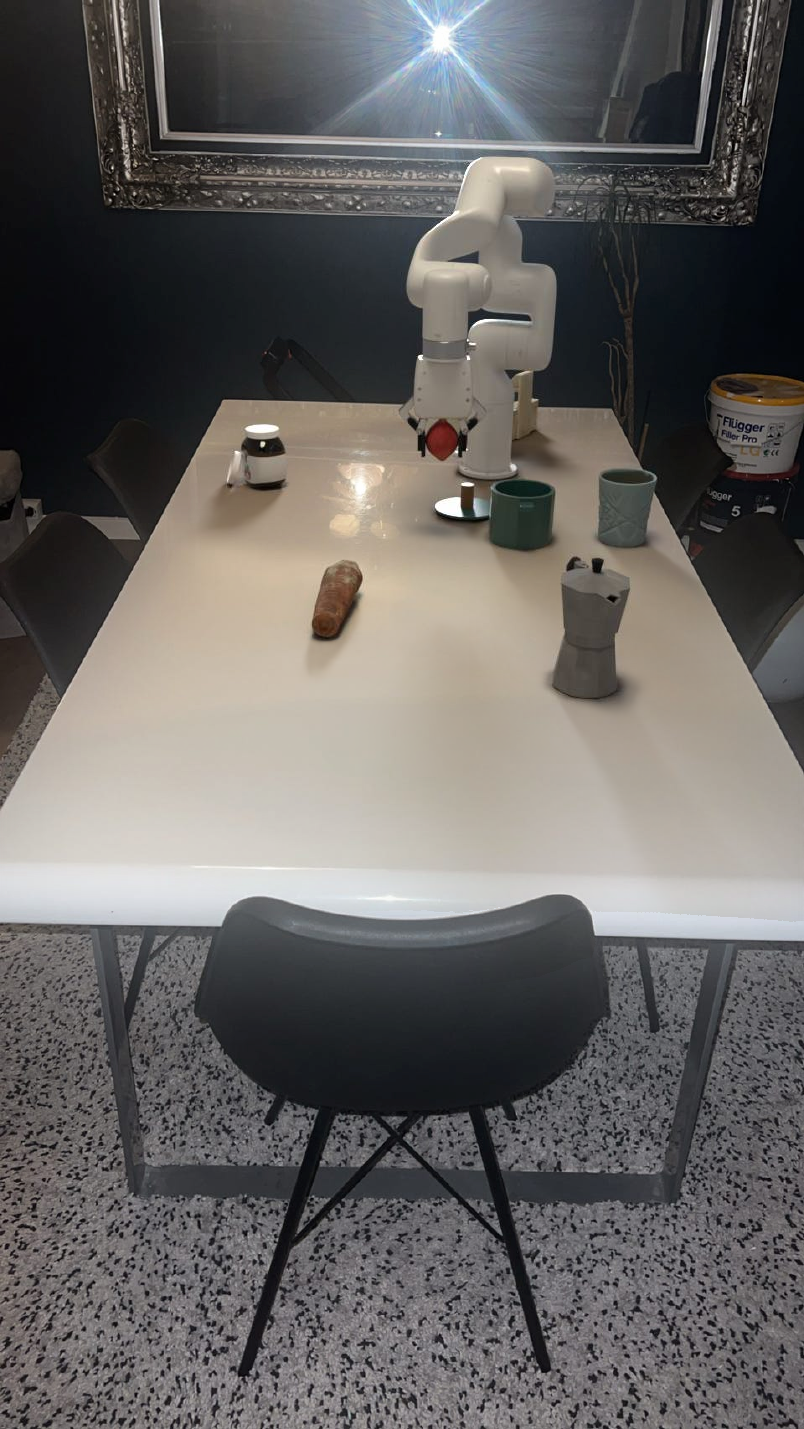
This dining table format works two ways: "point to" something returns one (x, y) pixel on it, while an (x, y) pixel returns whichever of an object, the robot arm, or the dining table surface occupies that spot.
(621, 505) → the light blue cup
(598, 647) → the coffeepot
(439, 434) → the onion
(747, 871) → the dining table surface
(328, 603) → the brown root vegetable
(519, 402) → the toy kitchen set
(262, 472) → the spread jar
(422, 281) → the robot arm
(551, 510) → the pot
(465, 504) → the pot lid
